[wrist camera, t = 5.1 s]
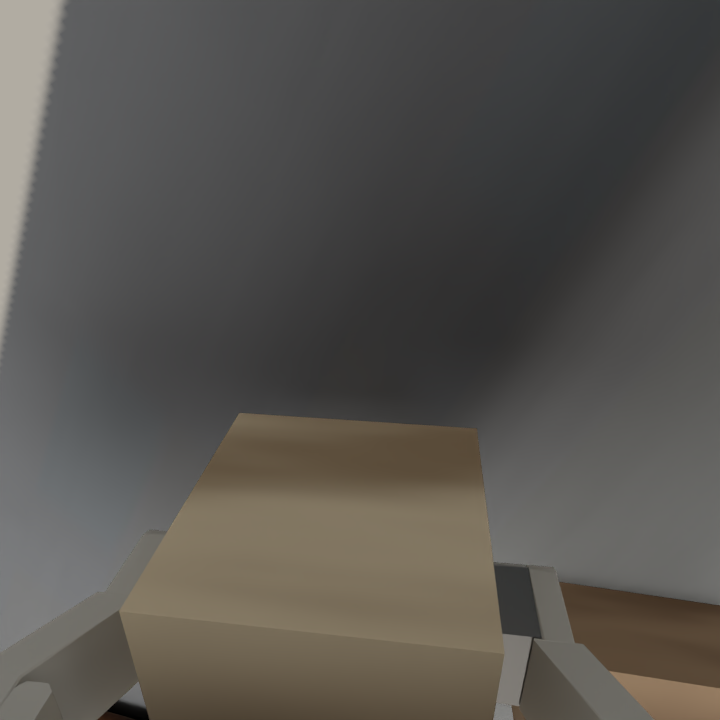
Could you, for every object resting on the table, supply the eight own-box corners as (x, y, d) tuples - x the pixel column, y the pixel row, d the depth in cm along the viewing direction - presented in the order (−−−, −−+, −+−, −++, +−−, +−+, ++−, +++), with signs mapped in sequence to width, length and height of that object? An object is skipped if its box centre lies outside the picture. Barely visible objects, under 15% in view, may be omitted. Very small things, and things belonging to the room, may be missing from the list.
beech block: (239, 413, 12) (119, 611, 7) (476, 428, 11) (504, 654, 7) (259, 580, 14) (175, 812, 9) (457, 600, 13) (468, 855, 9)
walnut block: (542, 575, 23) (564, 663, 19) (717, 601, 22) (774, 697, 18) (508, 685, 26) (522, 780, 22) (662, 710, 25) (702, 811, 21)
